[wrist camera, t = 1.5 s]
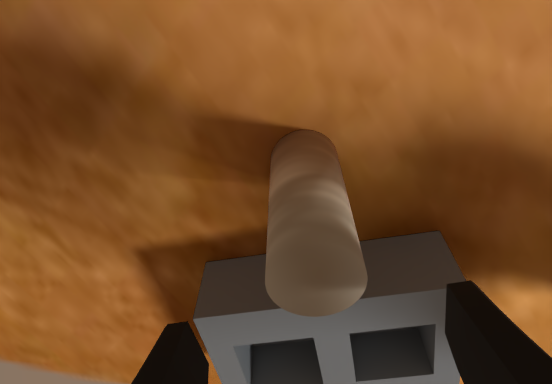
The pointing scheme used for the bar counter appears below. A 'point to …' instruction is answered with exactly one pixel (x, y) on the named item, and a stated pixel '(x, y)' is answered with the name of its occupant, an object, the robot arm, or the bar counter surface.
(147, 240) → the bar counter surface
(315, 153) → the dowel
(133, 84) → the bar counter surface
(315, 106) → the bar counter surface
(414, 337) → the socket block
